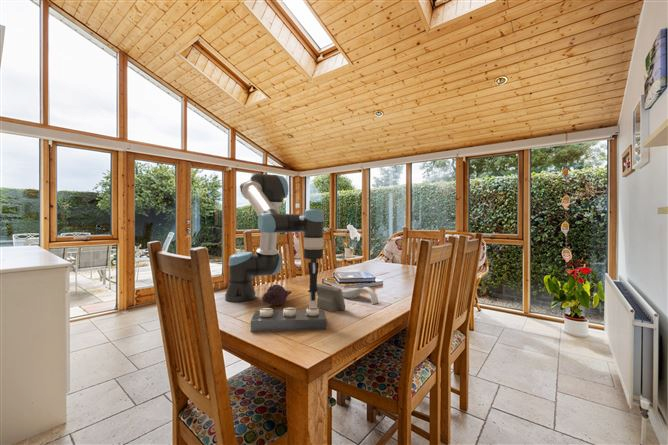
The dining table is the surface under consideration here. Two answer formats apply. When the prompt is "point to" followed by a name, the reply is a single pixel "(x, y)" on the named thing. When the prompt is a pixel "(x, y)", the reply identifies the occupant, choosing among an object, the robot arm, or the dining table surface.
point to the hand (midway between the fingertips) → (312, 307)
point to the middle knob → (289, 312)
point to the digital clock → (330, 298)
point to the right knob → (312, 311)
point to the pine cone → (276, 295)
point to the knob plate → (288, 322)
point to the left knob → (266, 312)
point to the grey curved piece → (356, 292)
